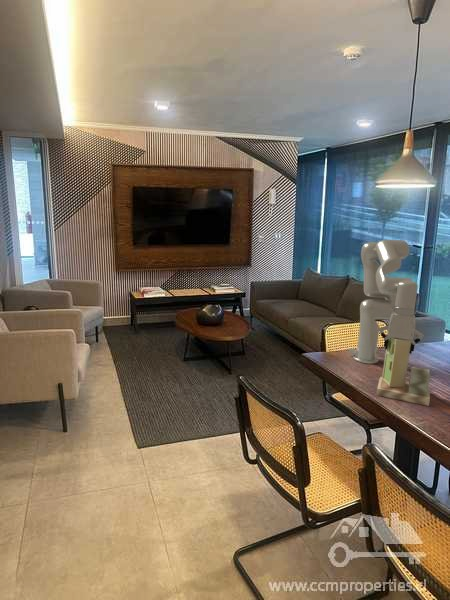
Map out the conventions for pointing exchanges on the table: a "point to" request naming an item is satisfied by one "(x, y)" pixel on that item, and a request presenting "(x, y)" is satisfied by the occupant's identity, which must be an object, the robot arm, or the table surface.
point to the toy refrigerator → (396, 362)
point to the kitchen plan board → (403, 395)
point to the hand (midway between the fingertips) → (398, 350)
